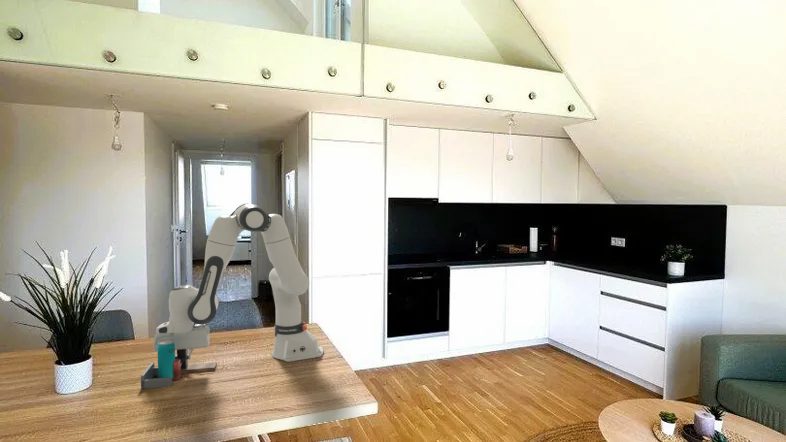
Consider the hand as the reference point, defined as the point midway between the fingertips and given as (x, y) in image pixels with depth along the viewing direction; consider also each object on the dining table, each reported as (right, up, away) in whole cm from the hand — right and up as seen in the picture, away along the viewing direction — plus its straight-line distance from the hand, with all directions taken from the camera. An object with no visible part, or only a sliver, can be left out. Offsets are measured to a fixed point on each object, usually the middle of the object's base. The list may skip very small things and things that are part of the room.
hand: (182, 359), depth 165 cm
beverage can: (-2, -5, -8) cm, 10 cm away
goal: (-4, -5, -9) cm, 11 cm away
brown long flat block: (+4, -5, +1) cm, 6 cm away
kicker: (+1, -4, -4) cm, 6 cm away
